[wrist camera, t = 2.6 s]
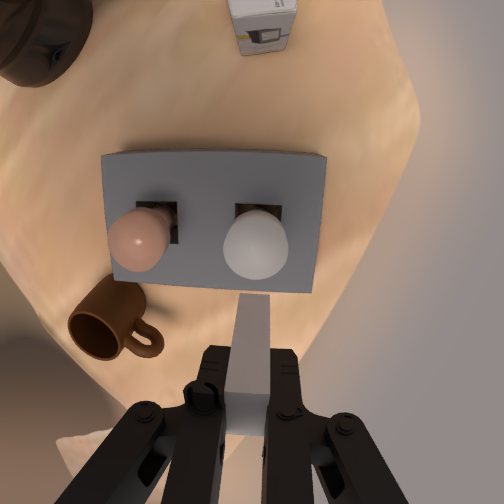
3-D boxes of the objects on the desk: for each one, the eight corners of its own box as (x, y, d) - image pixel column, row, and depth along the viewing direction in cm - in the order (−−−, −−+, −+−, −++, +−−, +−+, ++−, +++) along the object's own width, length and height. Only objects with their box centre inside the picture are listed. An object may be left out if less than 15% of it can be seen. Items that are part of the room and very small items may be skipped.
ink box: (227, -5, 23) (210, -59, 12) (272, -12, 23) (275, -68, 12) (240, 58, 27) (227, 20, 16) (288, 51, 26) (300, 11, 15)
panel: (122, 151, 31) (101, 155, 26) (317, 153, 30) (326, 157, 26) (130, 262, 36) (114, 280, 32) (305, 272, 36) (311, 293, 31)
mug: (182, 293, 38) (161, 338, 29) (173, 335, 40) (154, 382, 32) (100, 265, 37) (64, 300, 28) (98, 308, 40) (68, 347, 31)
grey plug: (233, 196, 29) (223, 217, 22) (284, 198, 29) (291, 221, 22) (232, 244, 31) (223, 277, 24) (281, 246, 31) (285, 281, 24)
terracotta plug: (138, 195, 29) (104, 214, 22) (183, 195, 29) (159, 215, 22) (141, 239, 31) (111, 269, 24) (185, 241, 31) (163, 273, 24)
